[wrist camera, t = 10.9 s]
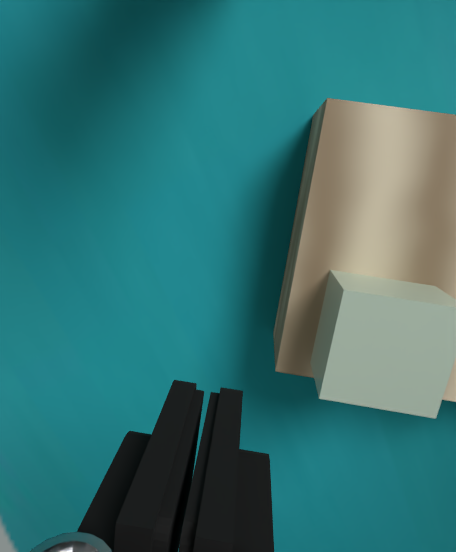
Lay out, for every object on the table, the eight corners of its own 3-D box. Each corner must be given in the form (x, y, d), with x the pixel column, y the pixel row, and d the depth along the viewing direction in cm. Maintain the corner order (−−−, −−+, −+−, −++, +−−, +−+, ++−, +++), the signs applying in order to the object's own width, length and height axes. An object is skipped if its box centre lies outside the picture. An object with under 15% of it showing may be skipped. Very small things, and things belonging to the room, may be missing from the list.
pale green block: (435, 285, 22) (471, 309, 18) (407, 378, 24) (435, 418, 20) (330, 269, 22) (343, 289, 19) (310, 362, 24) (319, 398, 20)
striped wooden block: (543, 145, 25) (627, 137, 19) (469, 365, 29) (519, 412, 24) (313, 115, 26) (327, 98, 20) (273, 333, 30) (275, 371, 24)
